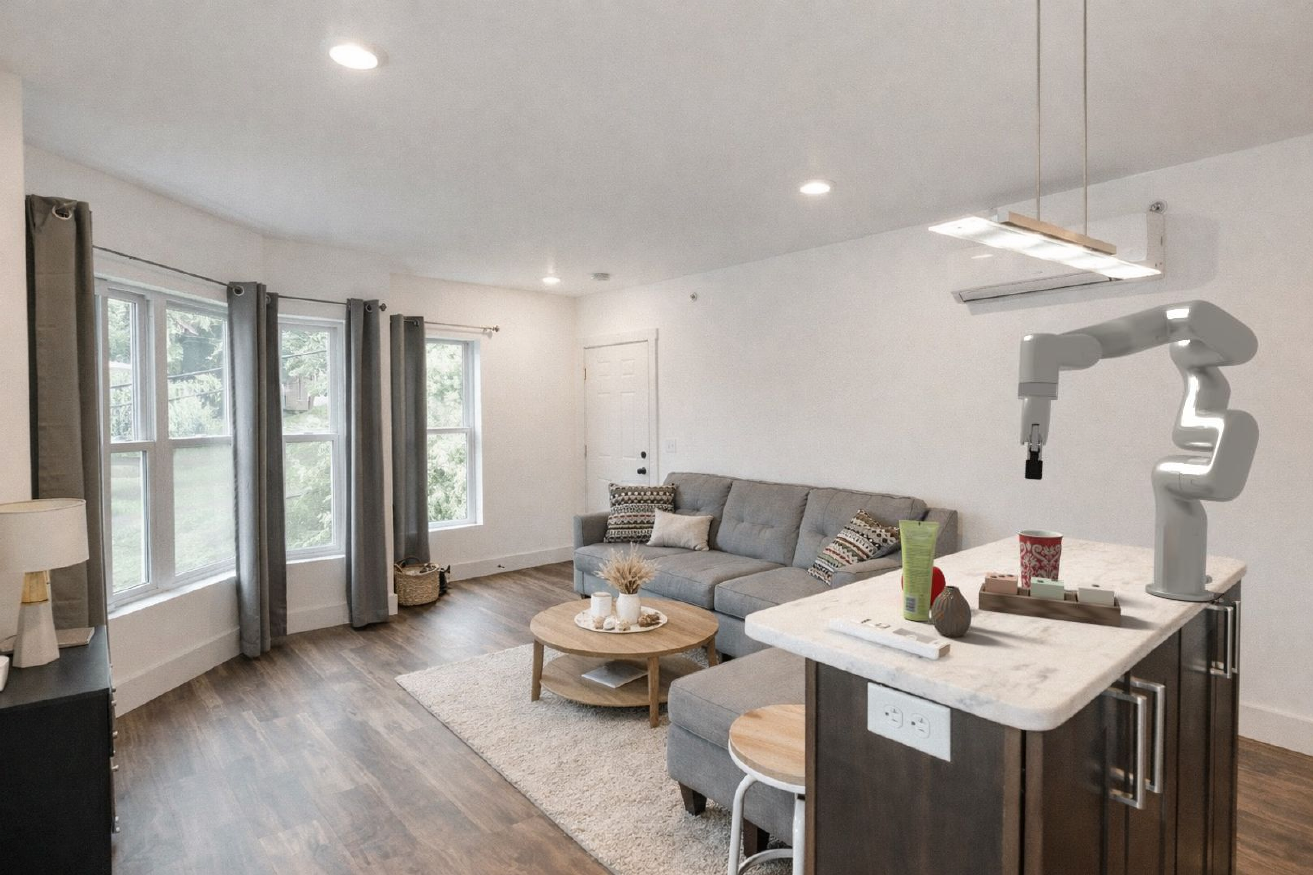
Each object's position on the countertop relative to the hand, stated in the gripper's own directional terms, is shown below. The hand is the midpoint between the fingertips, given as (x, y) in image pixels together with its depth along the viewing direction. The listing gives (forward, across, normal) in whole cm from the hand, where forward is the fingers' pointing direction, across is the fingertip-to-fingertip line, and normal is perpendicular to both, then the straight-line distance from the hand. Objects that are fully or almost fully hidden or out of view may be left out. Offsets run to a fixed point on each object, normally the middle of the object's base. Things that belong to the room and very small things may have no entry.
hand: (1033, 478), depth 153 cm
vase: (+28, +29, -12) cm, 42 cm away
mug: (+27, -17, +3) cm, 32 cm away
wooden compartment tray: (+27, +3, +4) cm, 27 cm away
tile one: (+24, +4, +12) cm, 27 cm away
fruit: (+28, +9, -20) cm, 35 cm away
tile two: (+24, +3, +4) cm, 24 cm away
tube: (+28, +22, -19) cm, 40 cm away
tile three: (+24, +3, -5) cm, 25 cm away
